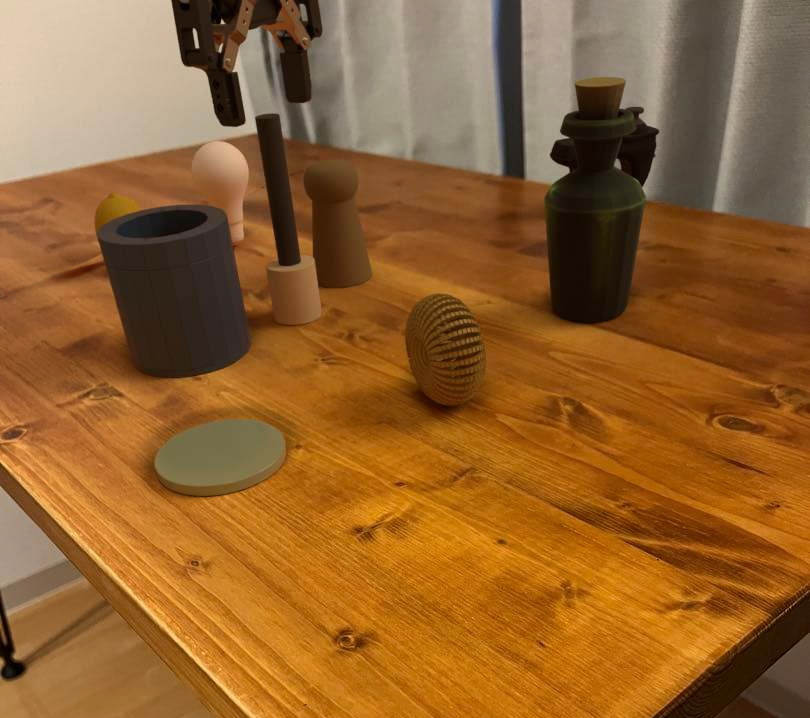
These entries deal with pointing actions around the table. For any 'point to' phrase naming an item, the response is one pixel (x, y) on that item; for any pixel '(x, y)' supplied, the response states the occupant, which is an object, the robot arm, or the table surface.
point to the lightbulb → (222, 181)
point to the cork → (336, 224)
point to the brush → (285, 235)
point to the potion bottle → (594, 210)
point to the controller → (631, 154)
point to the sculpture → (445, 349)
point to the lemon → (113, 209)
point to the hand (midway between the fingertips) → (267, 113)
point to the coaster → (220, 457)
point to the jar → (176, 289)
